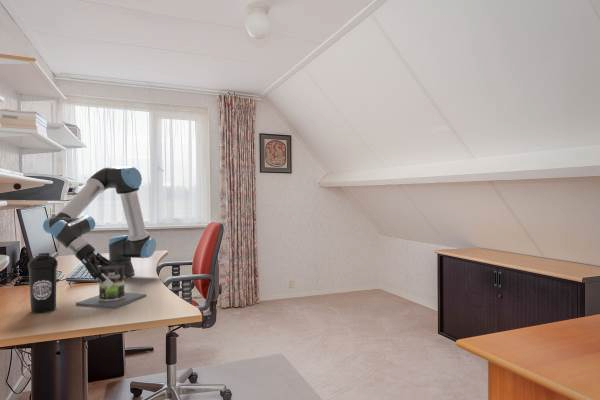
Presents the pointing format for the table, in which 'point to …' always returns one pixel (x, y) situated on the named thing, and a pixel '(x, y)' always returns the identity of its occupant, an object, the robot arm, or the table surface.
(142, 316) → the table surface
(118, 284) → the coffee can
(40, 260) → the water bottle
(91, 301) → the rubber mat
